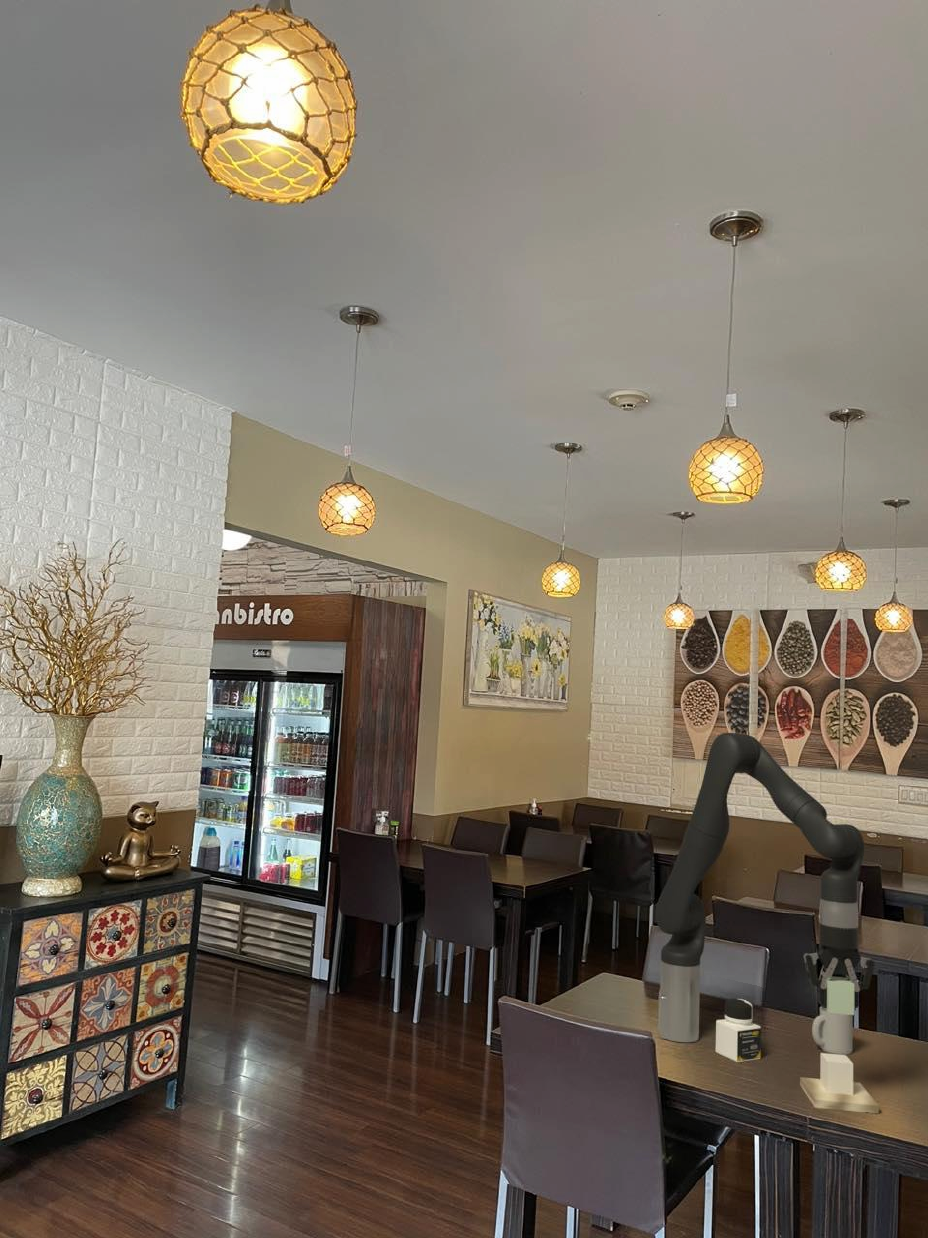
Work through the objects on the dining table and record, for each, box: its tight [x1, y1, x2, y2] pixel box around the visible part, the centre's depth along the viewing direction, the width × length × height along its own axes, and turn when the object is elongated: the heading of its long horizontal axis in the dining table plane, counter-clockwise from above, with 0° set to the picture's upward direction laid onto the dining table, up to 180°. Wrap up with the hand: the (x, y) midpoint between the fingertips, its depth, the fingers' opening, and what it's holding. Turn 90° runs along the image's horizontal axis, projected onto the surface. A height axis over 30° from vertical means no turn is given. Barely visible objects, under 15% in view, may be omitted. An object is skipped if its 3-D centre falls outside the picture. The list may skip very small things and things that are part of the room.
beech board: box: [799, 1076, 880, 1114], centre depth 188 cm, size 12×12×2 cm
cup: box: [811, 1005, 854, 1056], centre depth 218 cm, size 7×10×9 cm
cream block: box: [819, 1052, 854, 1095], centre depth 189 cm, size 5×5×6 cm
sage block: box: [825, 976, 855, 1016], centre depth 190 cm, size 5×5×6 cm
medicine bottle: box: [715, 998, 762, 1063], centre depth 211 cm, size 7×7×12 cm
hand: (838, 1008), depth 190 cm, fingers closed on sage block, 5 cm apart
